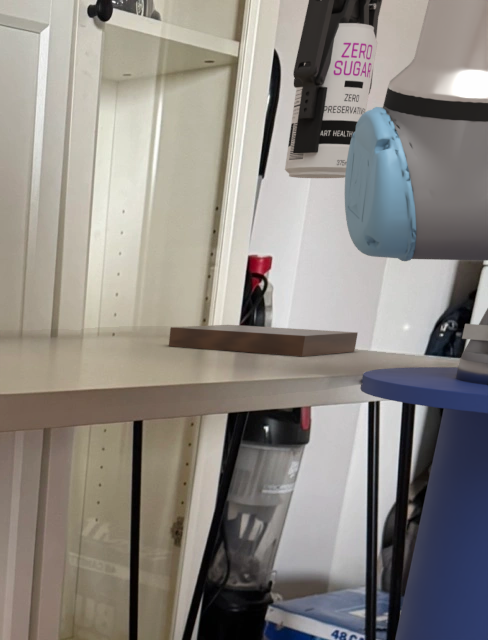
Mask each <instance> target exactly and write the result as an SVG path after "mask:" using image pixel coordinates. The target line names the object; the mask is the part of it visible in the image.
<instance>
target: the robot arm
mask: <svg viewBox="0 0 488 640" xmlns="http://www.w3.org/2000/svg"><path fill="white" fill-rule="evenodd" d="M382 3H383V0H308V3H307V8H306V12H305V16H304V22H303V26H302V30H301V36H300V40H299V45H298V50H297V55H296V59H295V64H294V68H293V78H294V79H293V87H294V88H295V89H296V88H298V87H303V89H302V94H301V101H300V108H299V115H298V122H297V129H296V136H295V143H294V150H293V153H316V152H318V147H319V140H320V134H321V127H322V120H323V114H324V107H325V101H326V94H327V87H320V86H321V85H323V84H324V81H325V78H326V75H327V72H328V69H329V66H330V63H331V57H332V50H333V43H334V38H335V35H336V33H337V30H338V27H339V23H358V24H366V25H371V26H373V27H374V34H375V37H376V38H377V34H378V24H379V16H380V13H381V8H382ZM304 63H305V65H304ZM373 75H374V71H373V72H372V78H371V84H370V89H369V94H371V89H372V85H373ZM385 93H386V94H385V97H384V101H383V105H382V107H380V106H374V107H373V108H372V109H369V110H366V112H365V113H364V114H363V115H362V116H361V117H360V118H359V120H358V122H357V124H356V130H355V132H354V133H353V135H352V138H351V142H350V146H349V151H348V157H347V164H346V174H345V178H344V211H345V221H346V226H347V227H346V228H347V230H348V234H349V237H350V239H351V241H352V244H353V245H354V247H355V248H356V249H357V250H358V251H359V252H361V253H362V254H364V255H365V256H367V257H368V256H369V257H375V258H387V259H398V260H400V261H401V262H409V261H411V260H435V261H436V260H441V261H445V260H446V261H488V0H428V3H427V6H426V9H425V14H424V18H423V22H422V26H421V31H420V33H419V37H418V41H417V46H416V50H415V54H414V57H413V58H412V60H411V62H410V63H409V64H408V65H407V66H405V67H404V68H403V69H402V70H401V71H400V72H398V74H396V75H395V76H394V77H393V78H392V79H390V80H389V83H388V85H387V89H386V92H385ZM461 336H462V337H461V339H462V340H469V341H468V343H467V344H466V346H465V349H464V350H463V352H462V354H461V357H460V358H459V360H458V365H457V368H458V370H457V374H456V378H457V379H458V380H461V381H466V382H471V383H477V384H484V385H488V307H487V308H486V310H485V312H484V314H483V316H482V318H481V320H480V321H479V323H478V324H477V323H476V324H475V323H465V324H464V328H463V332H462V335H461Z"/></svg>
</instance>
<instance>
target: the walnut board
mask: <svg viewBox="0 0 488 640" xmlns="http://www.w3.org/2000/svg"><path fill="white" fill-rule="evenodd" d="M358 333H359V332H358V331H357V332H356V331H355V332H354V331H341V330H339V331H338V330H326V329H325V330H323V329H307V328H290V327H273V326H255V325H241V324H239V325H238V324H213V325H192V326H189V325H188V326H171V327H170V330H169V338H168V347H175V348H188V349H199V350H200V349H201V350H212V351H213V350H214V351H225V352H226V351H227V352H239V353H251V354H265V355H276V356H277V355H278V356H290V357H311V356H312V357H313V356H321V355H322V356H323V355H332V354H333V355H334V354H343V353H344V354H345V353H354V352H355V350H356V344H357V339H358Z"/></svg>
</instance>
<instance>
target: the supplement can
mask: <svg viewBox="0 0 488 640" xmlns="http://www.w3.org/2000/svg"><path fill="white" fill-rule="evenodd" d="M377 47H378V41H377V36H376V37H375V34H374V27H373V26H371V25H366V24H358V23H339V27H338V30H337V33H336V35H335V38H334V43H333V50H332V57H331V63H330V66H329V69H328V72H327V75H326V78H325V81H324V84H323V85H321V86H320V87H327V94H326V101H325V107H324V114H323V120H322V127H321V134H320V140H319V147H318V152H316V153H293V150H294V143H295V136H296V129H297V122H298V115H299V108H300V101H301V94H302V89H303V87H298V88H295V96H294V103H293V109H292V117H291V123H290V131H289V138H288V144H287V145H288V146H287V152H286V159H285V166H284V170H285V172H287V173H288V177H290V178H298V179H345V174H346V164H347V157H348V151H349V146H350V142H351V138H352V135H353V133H354V132H355V130H356V124H357V122H358V120H359V118H360V117H361V116H362V115H363V114H364V113H365V112H367V106H368V101H369V96H370V93H369V89H370V84H371V78H372V79H373V76H372V72H373V73H374V65H375V60H376V59H375V58H376V54H377V53H376V52H377ZM304 65H305V63H304Z"/></svg>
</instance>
